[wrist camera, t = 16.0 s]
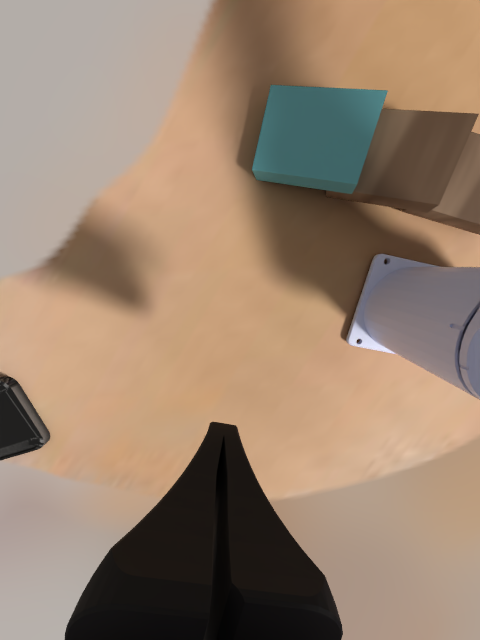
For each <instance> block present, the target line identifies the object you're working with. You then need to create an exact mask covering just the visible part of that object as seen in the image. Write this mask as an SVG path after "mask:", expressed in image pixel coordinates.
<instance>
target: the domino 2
mask: <svg viewBox="0 0 480 640" xmlns="http://www.w3.org/2000/svg"><path fill="white" fill-rule="evenodd" d="M402 212H406V213H409V214H412V215H416V216H419V217H422V218H426V219H429V220H432V221H436V222H439V223H443V224H446V225H449V226H453V227H456V228H459V229H463V230H466V231H469V232H473V233H476V234H479V235H480V134H477V133H474V132H471V133H470V135H469V137H468V140H467V142H466V144H465V147H464V149H463V151H462V153H461V156H460V158H459V160H458V163H457V165H456V167H455V170H454V172H453V174H452V176H451V179H450V181H449V183H448V186H447V188H446V190H445V193H444V195H443V197H442V199H441V202H440V204H439V205H438V206H437V207H435V208H434V209H432V210H431V211H429V212H428V213H425V212H419V211H413V210H406V209H402Z"/></svg>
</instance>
